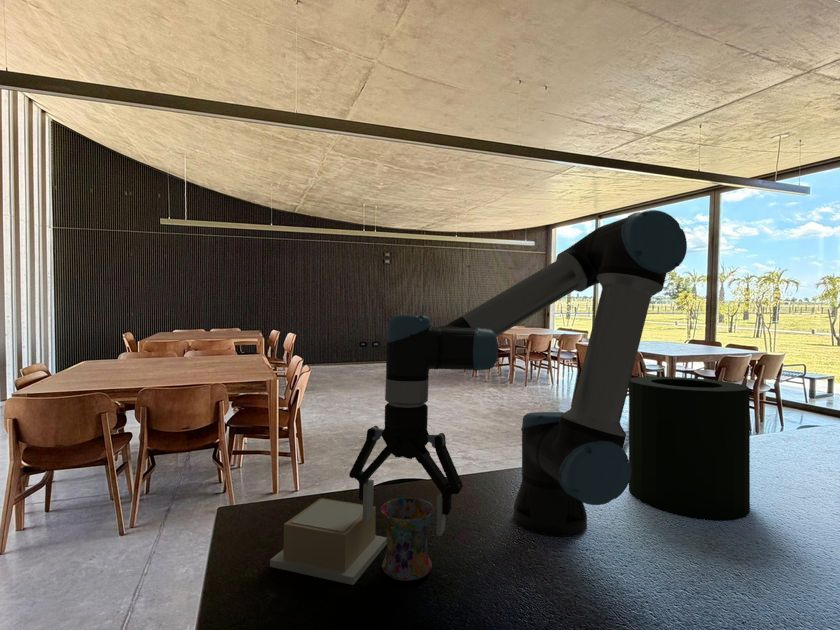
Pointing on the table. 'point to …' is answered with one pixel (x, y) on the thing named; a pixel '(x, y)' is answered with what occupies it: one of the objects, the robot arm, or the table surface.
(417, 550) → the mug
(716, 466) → the flower pot
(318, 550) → the cream stepped pedestal
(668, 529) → the table surface
